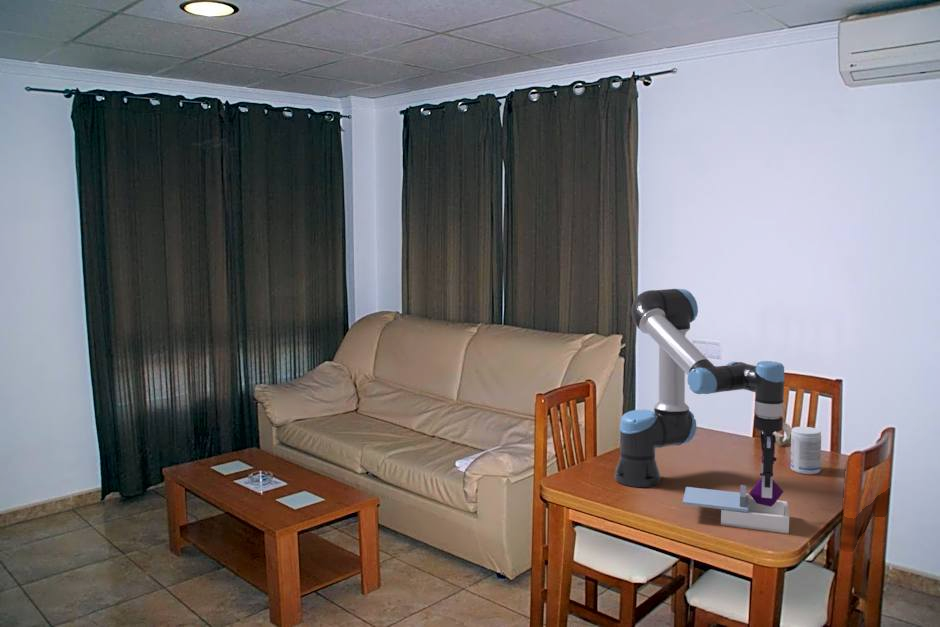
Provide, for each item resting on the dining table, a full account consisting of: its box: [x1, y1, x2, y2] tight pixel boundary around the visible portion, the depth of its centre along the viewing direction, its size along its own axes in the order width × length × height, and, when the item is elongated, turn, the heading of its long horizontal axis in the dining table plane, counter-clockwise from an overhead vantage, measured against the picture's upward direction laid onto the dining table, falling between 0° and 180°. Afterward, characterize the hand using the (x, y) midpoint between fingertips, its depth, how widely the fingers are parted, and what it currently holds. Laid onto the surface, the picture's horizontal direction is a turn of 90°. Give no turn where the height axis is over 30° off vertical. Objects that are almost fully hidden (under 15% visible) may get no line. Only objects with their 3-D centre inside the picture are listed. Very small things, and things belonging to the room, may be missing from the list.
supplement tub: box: [790, 426, 822, 475], centre depth 252 cm, size 10×10×15 cm
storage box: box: [720, 496, 790, 534], centre depth 211 cm, size 18×13×4 cm
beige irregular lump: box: [773, 421, 792, 447], centre depth 283 cm, size 9×6×10 cm
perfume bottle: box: [748, 451, 785, 506], centre depth 208 cm, size 8×8×18 cm
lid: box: [682, 484, 749, 512], centre depth 214 cm, size 18×13×4 cm
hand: (766, 491), depth 209 cm, fingers closed on perfume bottle, 9 cm apart
